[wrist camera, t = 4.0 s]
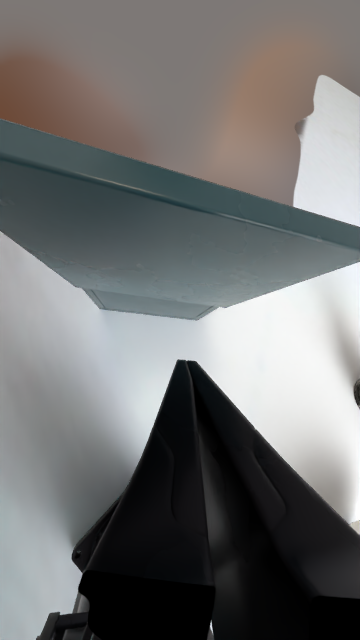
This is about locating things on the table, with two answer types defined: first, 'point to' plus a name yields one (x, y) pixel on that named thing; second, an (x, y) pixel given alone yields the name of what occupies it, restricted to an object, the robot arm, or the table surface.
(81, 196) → the green box lid
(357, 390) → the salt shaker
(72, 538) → the table surface
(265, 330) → the table surface
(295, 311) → the table surface
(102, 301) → the open-top green box
